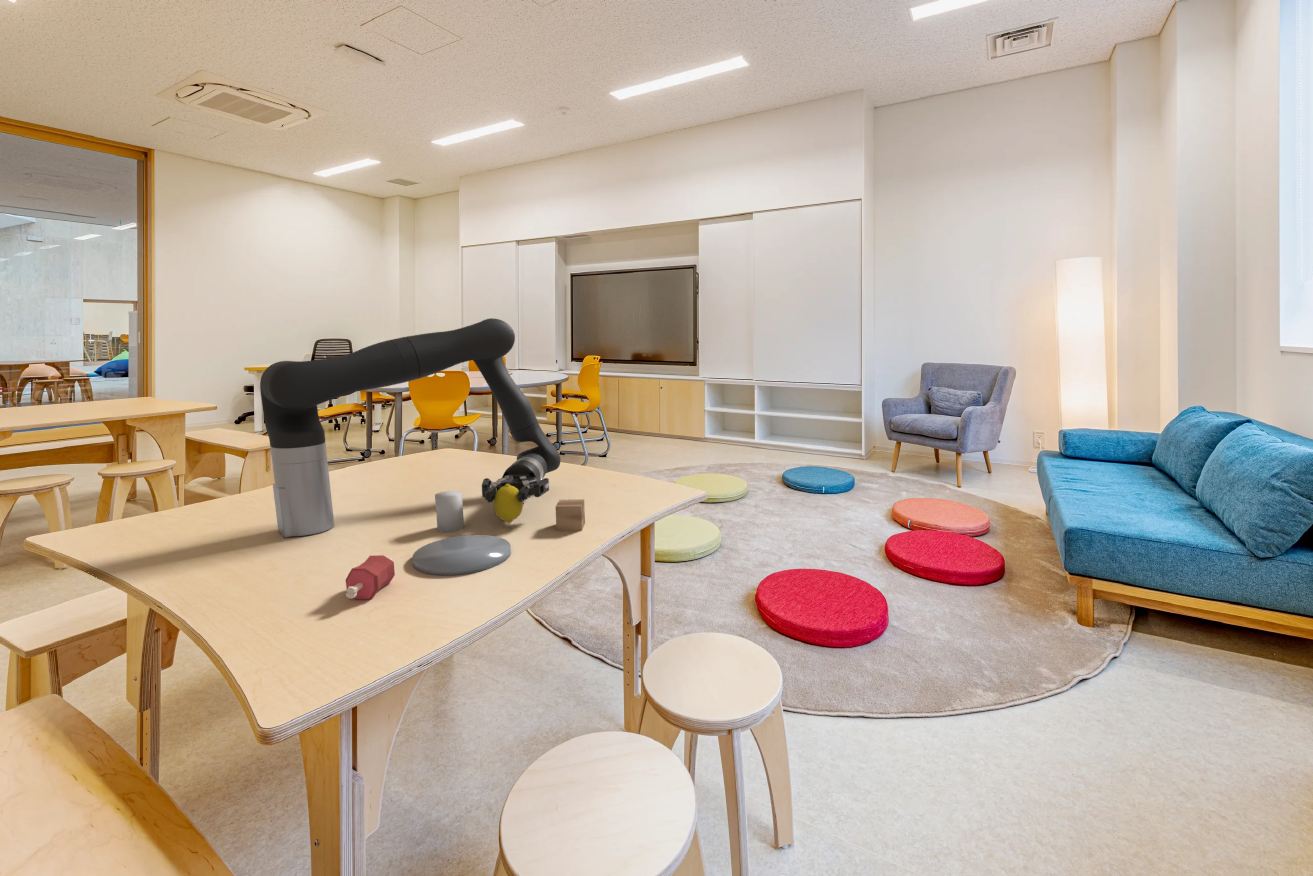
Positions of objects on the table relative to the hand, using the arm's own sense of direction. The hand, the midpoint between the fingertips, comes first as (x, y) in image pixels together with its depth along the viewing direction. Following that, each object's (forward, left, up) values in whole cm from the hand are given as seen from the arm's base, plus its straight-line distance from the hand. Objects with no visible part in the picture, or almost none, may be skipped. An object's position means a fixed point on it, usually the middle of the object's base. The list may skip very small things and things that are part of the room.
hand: (504, 497), depth 114 cm
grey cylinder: (-7, +10, -7) cm, 14 cm away
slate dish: (-12, -7, -7) cm, 16 cm away
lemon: (+2, +2, -6) cm, 7 cm away
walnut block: (+11, -6, -7) cm, 14 cm away
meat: (-28, -11, -7) cm, 31 cm away
